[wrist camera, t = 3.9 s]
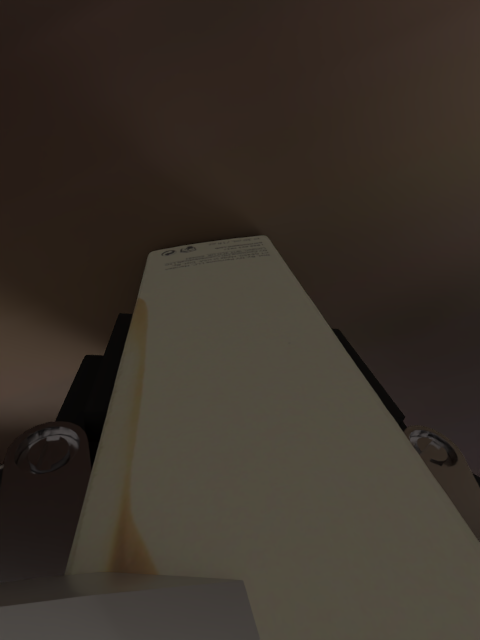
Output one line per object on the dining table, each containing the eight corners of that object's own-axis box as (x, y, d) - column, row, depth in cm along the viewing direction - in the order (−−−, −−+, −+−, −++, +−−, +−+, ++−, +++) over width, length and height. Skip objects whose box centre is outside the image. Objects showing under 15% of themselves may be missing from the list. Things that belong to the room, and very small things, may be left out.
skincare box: (144, 248, 11) (-399, 1738, 1) (269, 230, 12) (1040, 1195, 1) (181, 389, 15) (164, 1052, 4) (277, 372, 15) (493, 954, 4)
